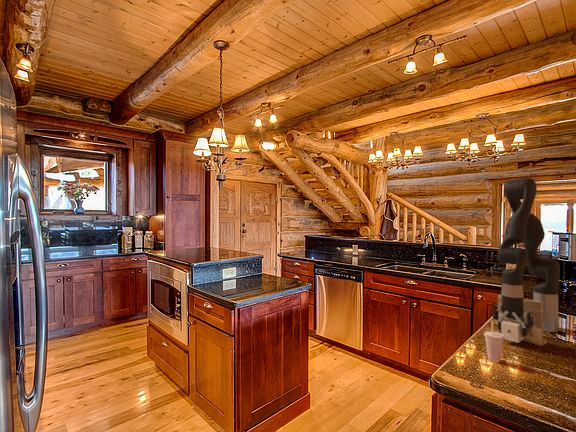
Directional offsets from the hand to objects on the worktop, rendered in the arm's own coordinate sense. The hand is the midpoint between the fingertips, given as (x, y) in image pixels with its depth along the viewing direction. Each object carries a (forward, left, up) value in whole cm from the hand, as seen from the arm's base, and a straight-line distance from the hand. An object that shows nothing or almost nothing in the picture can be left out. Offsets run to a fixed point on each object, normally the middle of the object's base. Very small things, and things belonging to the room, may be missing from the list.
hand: (512, 333), depth 135 cm
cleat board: (-7, 0, -4) cm, 8 cm away
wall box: (-1, 0, -2) cm, 2 cm away
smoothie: (+23, +3, -5) cm, 24 cm away
